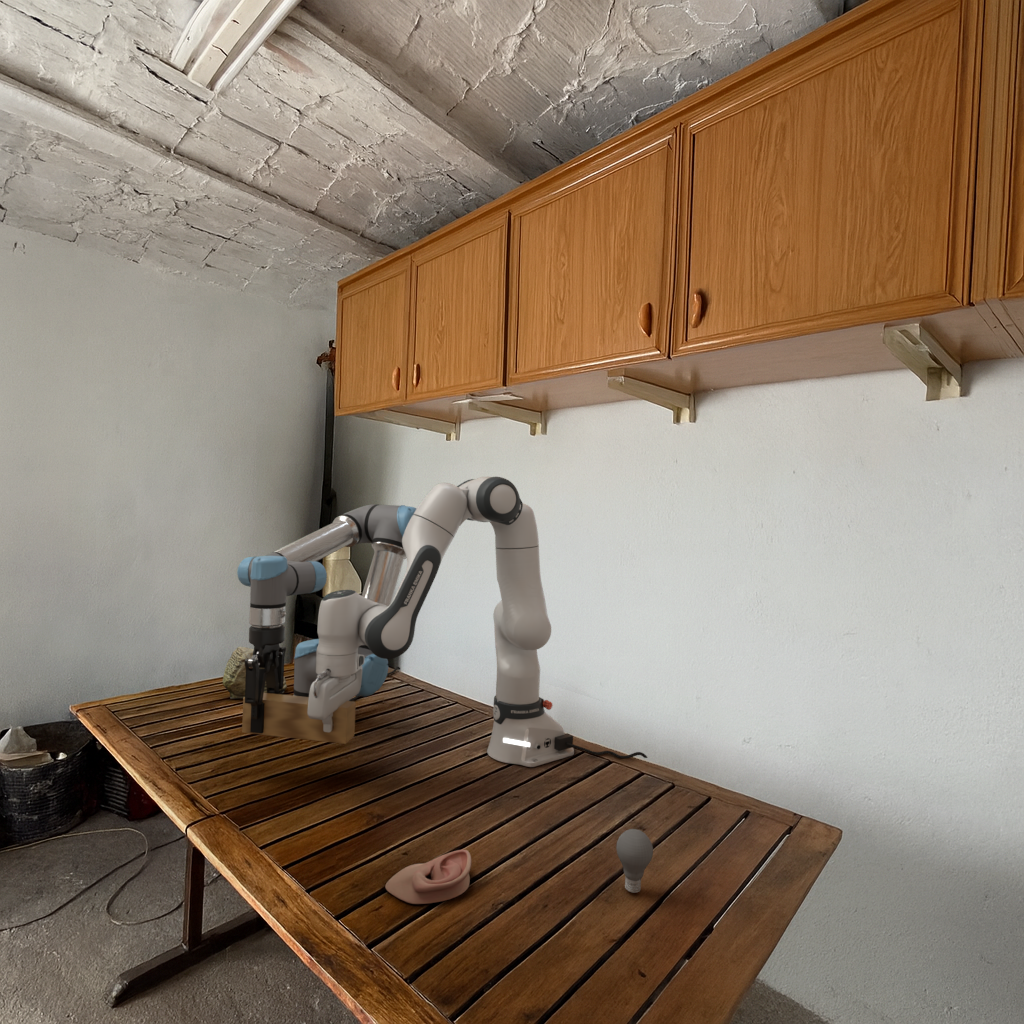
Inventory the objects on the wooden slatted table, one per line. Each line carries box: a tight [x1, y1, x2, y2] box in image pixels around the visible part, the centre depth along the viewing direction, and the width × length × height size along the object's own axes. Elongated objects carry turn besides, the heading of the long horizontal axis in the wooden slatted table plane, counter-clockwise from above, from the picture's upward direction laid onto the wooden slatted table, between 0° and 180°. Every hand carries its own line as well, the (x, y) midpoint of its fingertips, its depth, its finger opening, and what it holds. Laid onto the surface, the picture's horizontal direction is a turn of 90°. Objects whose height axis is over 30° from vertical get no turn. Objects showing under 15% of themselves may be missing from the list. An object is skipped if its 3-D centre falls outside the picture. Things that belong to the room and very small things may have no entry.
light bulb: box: [615, 828, 654, 894], centre depth 106 cm, size 6×6×10 cm
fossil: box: [222, 646, 288, 699], centre depth 198 cm, size 9×18×15 cm, turn 132°
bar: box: [241, 693, 357, 745], centre depth 141 cm, size 24×5×8 cm, turn 81°
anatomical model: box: [385, 849, 472, 905], centre depth 105 cm, size 13×4×12 cm
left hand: (263, 727), depth 143 cm, fingers closed on bar, 5 cm apart
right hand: (334, 726), depth 140 cm, fingers closed on bar, 5 cm apart
